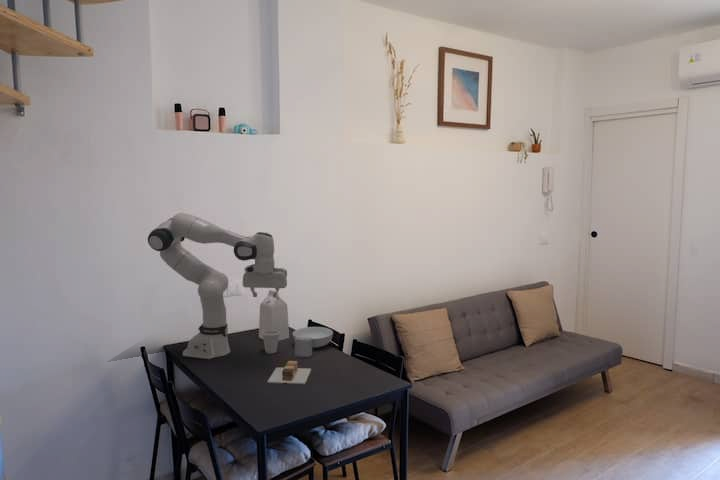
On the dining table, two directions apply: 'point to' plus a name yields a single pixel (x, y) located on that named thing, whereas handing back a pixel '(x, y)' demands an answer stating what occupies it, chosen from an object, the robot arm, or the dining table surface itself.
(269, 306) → the milk
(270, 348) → the dixie cup
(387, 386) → the dining table surface
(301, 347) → the medicine box
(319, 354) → the dining table surface
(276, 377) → the mat
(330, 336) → the serving bowl
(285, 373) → the wooden block
